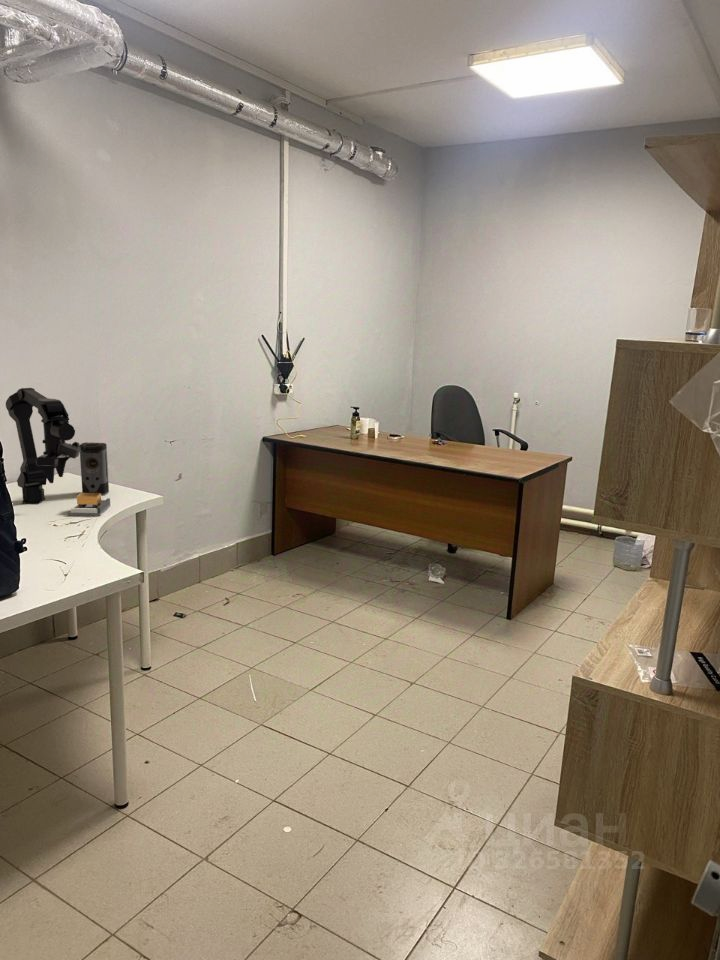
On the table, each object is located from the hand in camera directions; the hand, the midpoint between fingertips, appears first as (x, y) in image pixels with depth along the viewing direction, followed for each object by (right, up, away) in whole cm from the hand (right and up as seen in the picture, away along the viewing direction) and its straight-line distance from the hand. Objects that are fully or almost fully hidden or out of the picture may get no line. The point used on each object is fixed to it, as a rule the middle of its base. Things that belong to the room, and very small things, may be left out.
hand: (56, 480), depth 242 cm
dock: (+9, -11, +7) cm, 16 cm away
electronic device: (+3, -6, +29) cm, 30 cm away
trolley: (+9, -10, +6) cm, 15 cm away
